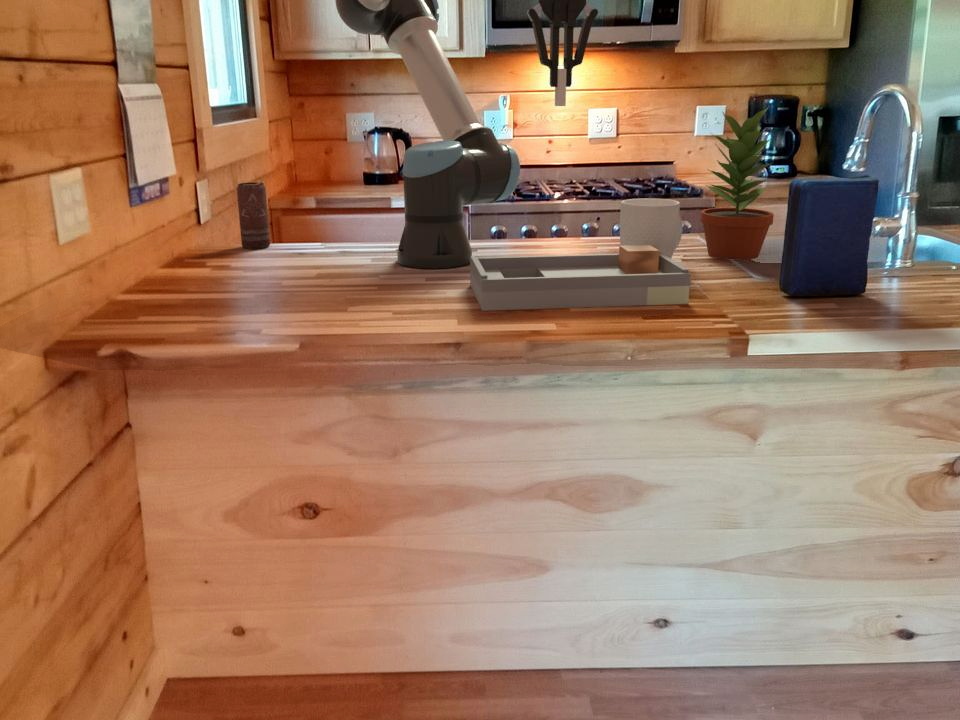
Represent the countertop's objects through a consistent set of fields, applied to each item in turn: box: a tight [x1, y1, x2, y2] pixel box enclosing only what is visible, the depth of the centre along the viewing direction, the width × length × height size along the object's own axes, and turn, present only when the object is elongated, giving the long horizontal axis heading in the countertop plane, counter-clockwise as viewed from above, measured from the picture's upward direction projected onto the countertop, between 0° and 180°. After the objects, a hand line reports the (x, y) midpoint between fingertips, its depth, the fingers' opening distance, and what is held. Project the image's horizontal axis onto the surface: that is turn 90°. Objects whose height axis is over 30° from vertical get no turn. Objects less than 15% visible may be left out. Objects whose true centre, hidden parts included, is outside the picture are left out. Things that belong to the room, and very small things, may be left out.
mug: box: [619, 197, 683, 259], centre depth 163 cm, size 15×11×13 cm
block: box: [618, 244, 659, 274], centre depth 149 cm, size 6×6×4 cm
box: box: [469, 252, 692, 312], centre depth 145 cm, size 34×18×6 cm, turn 97°
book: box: [778, 174, 880, 297], centre depth 141 cm, size 14×5×20 cm, turn 97°
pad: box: [646, 269, 691, 306], centre depth 147 cm, size 7×18×3 cm, turn 7°
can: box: [236, 181, 271, 250], centre depth 187 cm, size 6×6×14 cm
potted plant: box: [699, 105, 775, 261], centre depth 173 cm, size 15×15×30 cm
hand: (560, 105), depth 158 cm, fingers closed
